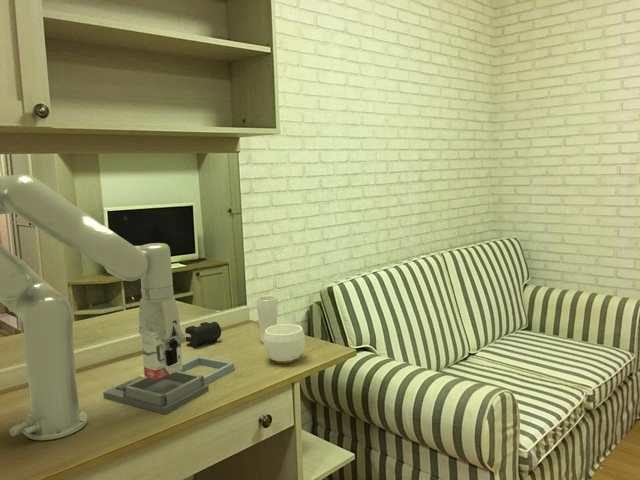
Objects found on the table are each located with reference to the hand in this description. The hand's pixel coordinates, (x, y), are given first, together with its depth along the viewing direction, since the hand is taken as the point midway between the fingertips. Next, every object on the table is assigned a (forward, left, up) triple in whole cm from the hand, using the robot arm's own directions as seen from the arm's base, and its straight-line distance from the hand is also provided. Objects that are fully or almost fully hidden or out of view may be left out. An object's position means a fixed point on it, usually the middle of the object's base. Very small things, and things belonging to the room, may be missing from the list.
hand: (163, 361), depth 131 cm
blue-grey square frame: (+15, +2, -9) cm, 18 cm away
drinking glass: (+48, +1, -9) cm, 49 cm away
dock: (0, +3, -9) cm, 10 cm away
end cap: (+37, +20, -9) cm, 43 cm away
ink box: (0, 0, -3) cm, 3 cm away
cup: (+35, -14, -9) cm, 39 cm away
